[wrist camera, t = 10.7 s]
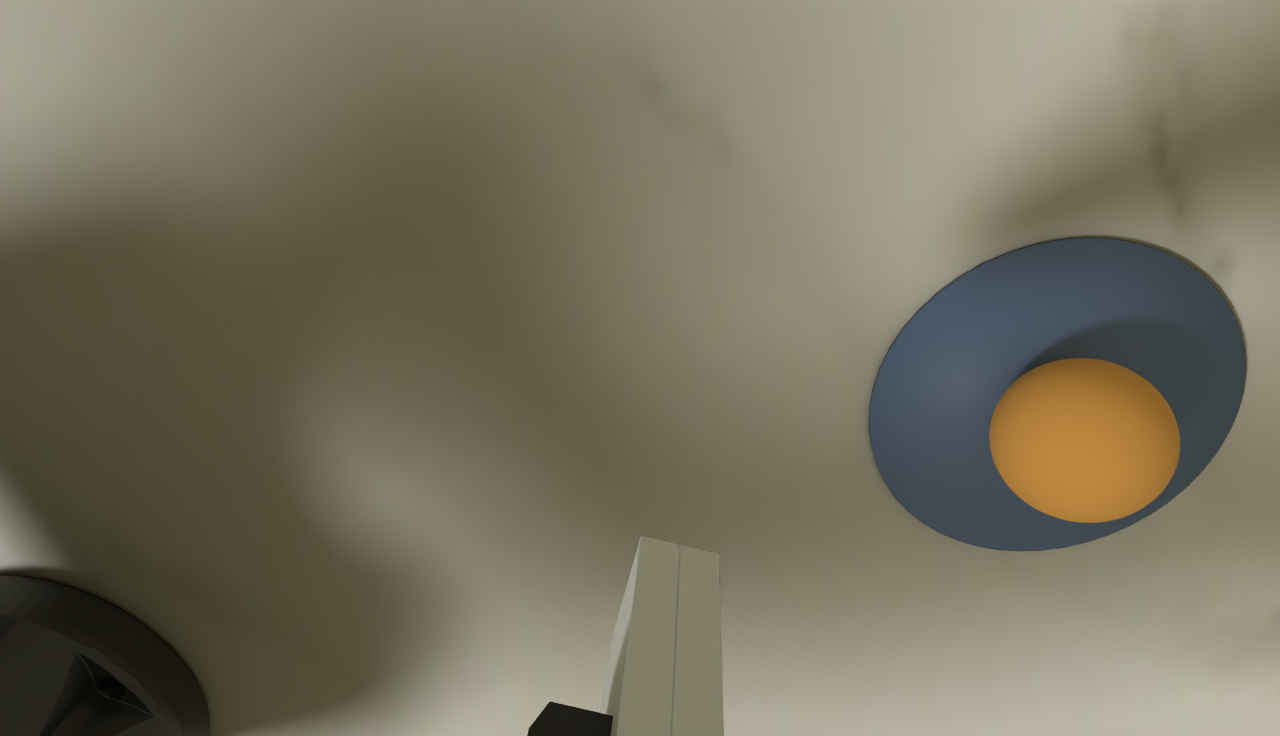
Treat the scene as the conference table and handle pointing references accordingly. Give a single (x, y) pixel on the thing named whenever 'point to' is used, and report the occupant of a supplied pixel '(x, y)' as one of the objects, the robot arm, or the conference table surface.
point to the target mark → (1030, 337)
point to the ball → (1084, 440)
